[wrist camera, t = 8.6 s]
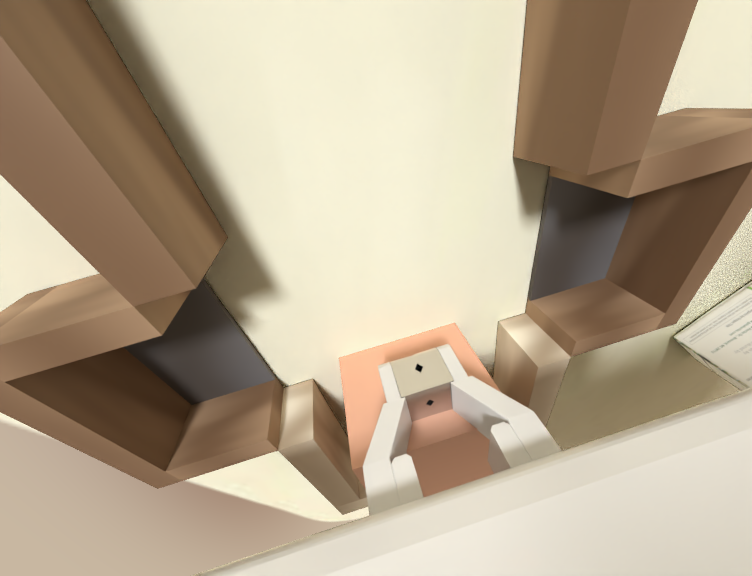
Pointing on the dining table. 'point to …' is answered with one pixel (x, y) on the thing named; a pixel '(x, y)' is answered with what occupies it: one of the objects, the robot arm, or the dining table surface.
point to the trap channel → (206, 237)
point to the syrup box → (724, 338)
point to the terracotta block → (428, 435)
